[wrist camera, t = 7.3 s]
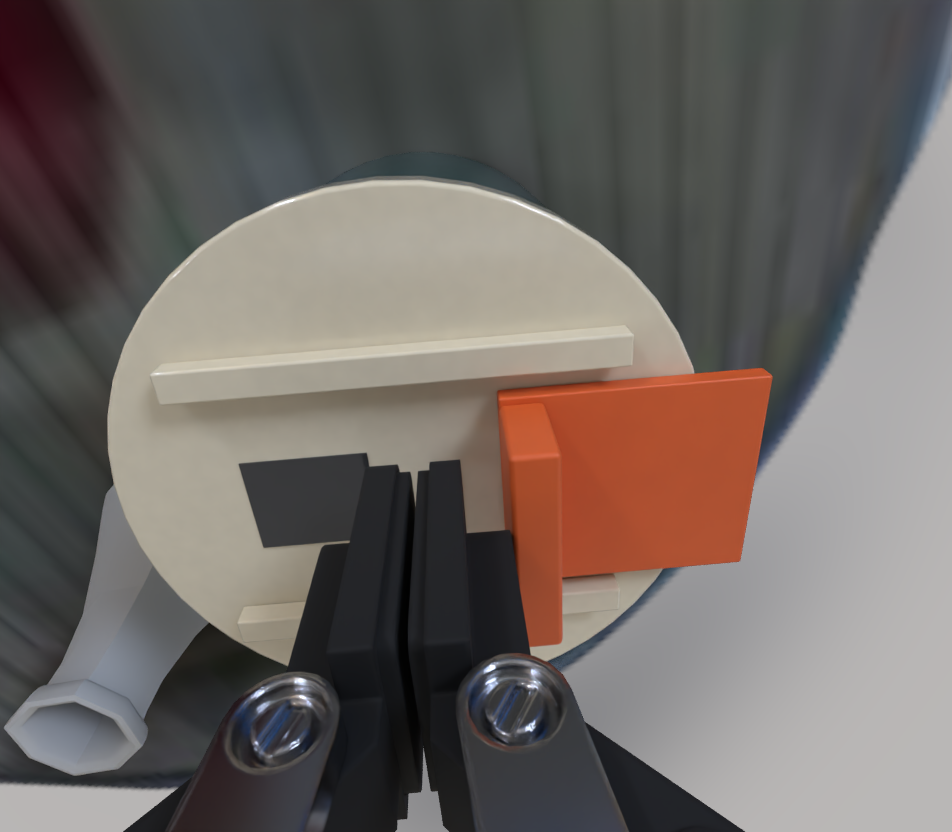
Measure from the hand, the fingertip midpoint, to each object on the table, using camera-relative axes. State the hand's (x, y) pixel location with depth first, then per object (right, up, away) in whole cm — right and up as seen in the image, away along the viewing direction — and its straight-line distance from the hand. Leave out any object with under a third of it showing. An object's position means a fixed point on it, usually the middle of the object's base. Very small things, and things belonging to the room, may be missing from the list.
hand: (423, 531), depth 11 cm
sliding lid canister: (-1, +5, +11) cm, 12 cm away
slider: (+4, +1, +1) cm, 4 cm away
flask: (-10, -2, +14) cm, 17 cm away
